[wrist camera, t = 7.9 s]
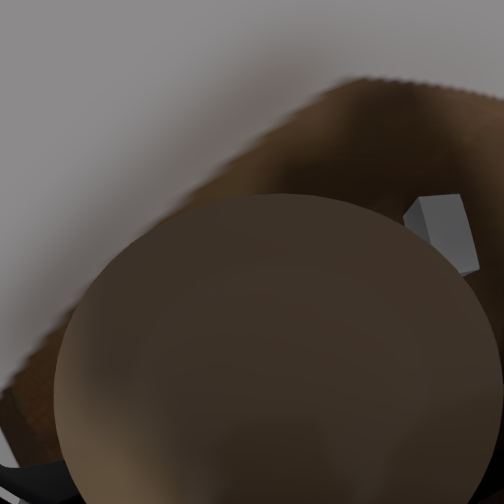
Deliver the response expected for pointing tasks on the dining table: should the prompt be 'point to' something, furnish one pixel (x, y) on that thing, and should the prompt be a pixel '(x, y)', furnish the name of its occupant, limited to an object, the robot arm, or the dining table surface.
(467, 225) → the grey block
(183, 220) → the ceramic jar
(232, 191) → the dining table surface
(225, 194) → the dining table surface
